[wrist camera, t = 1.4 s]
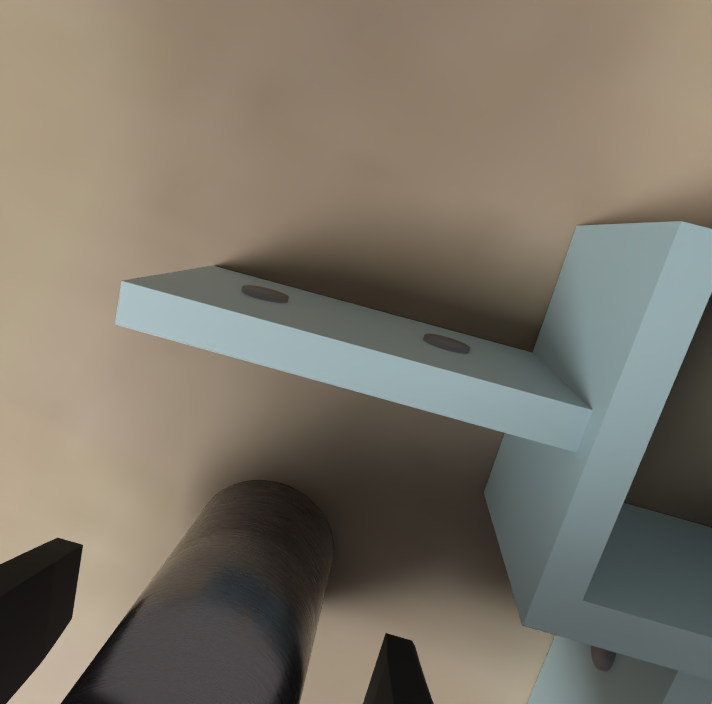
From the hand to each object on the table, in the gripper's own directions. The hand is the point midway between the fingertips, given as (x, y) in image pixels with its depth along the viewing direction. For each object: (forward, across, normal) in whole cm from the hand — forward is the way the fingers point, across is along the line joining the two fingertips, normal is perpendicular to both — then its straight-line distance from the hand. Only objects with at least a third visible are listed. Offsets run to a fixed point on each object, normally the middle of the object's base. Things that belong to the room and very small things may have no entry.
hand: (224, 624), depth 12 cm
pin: (+3, 0, 0) cm, 3 cm away
